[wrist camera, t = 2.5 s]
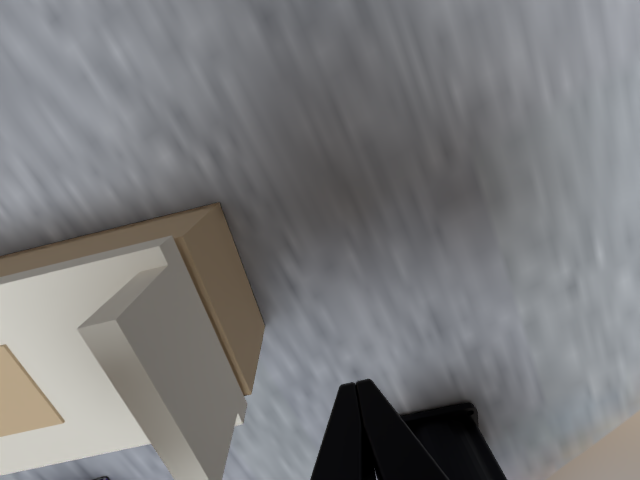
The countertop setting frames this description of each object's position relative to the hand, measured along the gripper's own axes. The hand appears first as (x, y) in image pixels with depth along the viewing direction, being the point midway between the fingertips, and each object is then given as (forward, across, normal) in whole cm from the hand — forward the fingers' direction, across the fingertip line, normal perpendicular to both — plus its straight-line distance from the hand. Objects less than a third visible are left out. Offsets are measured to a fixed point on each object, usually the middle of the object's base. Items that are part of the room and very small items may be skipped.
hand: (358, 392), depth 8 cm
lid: (+4, +13, 0) cm, 14 cm away
